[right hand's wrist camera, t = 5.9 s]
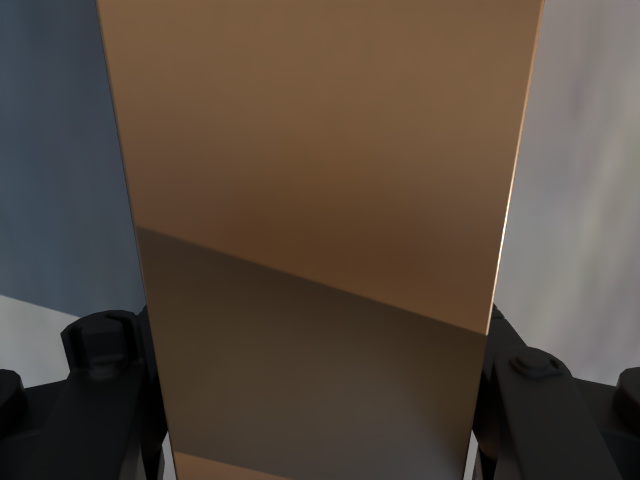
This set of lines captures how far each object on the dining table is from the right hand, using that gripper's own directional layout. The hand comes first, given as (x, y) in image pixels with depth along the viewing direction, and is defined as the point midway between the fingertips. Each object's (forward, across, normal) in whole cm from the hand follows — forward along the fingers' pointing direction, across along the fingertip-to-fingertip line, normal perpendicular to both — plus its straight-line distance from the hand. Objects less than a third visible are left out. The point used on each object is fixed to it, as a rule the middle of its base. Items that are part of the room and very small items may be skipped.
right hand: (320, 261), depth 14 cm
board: (+1, 0, -20) cm, 21 cm away
